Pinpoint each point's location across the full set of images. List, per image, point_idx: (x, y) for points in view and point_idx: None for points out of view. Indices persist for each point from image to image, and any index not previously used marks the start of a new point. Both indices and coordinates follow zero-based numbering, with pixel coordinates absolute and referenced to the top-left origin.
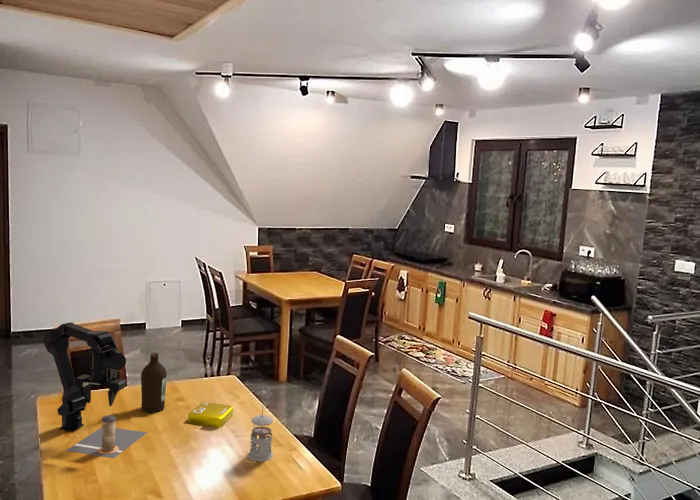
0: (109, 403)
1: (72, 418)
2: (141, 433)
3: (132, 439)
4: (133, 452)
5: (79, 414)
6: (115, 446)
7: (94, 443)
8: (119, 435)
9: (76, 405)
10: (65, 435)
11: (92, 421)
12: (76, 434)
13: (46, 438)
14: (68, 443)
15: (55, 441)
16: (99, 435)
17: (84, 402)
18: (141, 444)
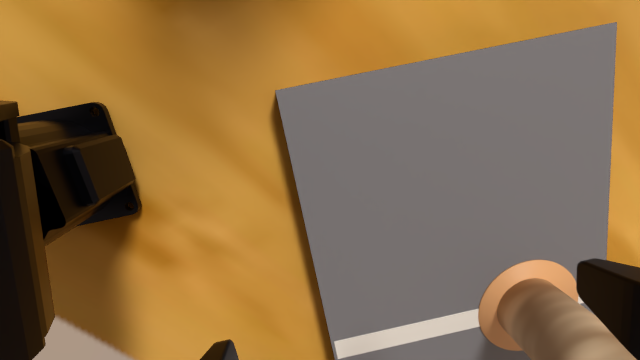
0: (632, 343)
1: (64, 227)
2: (588, 53)
3: (580, 153)
4: (618, 224)
5: (57, 172)
6: (542, 266)
7: (415, 294)
8: (475, 149)
9: (27, 315)
10: (149, 262)
11: (90, 13)
12: (191, 222)
13: (98, 335)
14: (253, 315)
15: (174, 333)
16: (364, 210)
17: (6, 198)
18: (613, 134)
